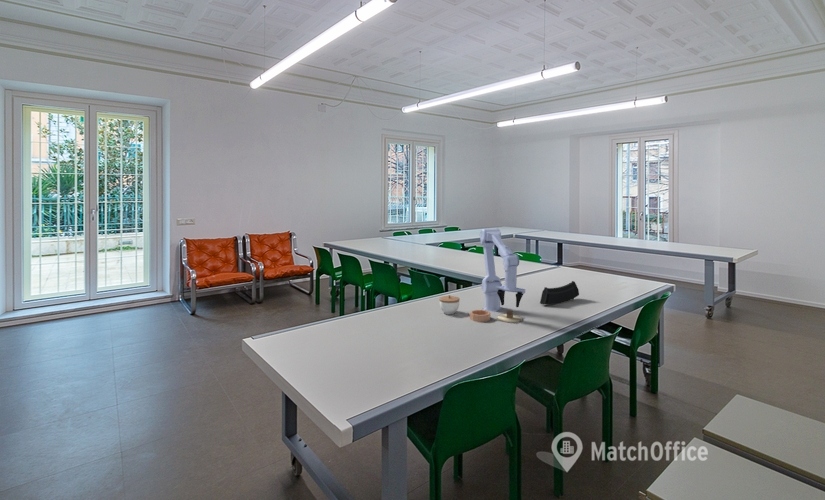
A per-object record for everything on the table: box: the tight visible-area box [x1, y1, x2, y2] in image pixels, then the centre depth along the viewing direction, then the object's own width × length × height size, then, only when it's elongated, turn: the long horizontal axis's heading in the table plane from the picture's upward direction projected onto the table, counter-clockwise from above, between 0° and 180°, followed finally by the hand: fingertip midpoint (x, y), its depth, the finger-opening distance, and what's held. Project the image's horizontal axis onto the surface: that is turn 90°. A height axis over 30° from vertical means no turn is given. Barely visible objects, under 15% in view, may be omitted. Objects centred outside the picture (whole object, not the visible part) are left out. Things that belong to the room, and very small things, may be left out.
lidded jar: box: [439, 294, 460, 315], centre depth 228 cm, size 11×11×9 cm
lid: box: [496, 309, 523, 324], centre depth 215 cm, size 12×12×4 cm
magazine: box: [539, 280, 580, 306], centre depth 247 cm, size 17×3×30 cm
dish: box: [469, 309, 491, 323], centre depth 216 cm, size 10×10×4 cm
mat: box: [494, 316, 526, 325], centre depth 215 cm, size 12×12×1 cm
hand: (510, 305), depth 214 cm, fingers open, 7 cm apart
